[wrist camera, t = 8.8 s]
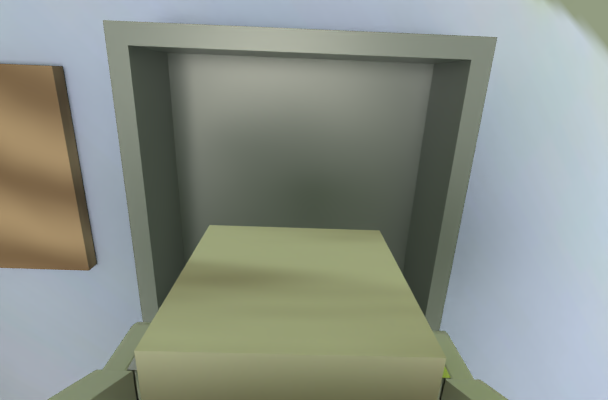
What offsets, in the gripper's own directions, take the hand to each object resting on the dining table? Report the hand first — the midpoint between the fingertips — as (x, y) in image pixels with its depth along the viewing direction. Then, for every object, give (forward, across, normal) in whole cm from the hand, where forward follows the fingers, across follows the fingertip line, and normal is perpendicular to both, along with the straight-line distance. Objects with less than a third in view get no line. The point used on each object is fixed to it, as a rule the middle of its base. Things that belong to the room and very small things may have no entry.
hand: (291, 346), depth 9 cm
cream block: (+2, 0, 0) cm, 2 cm away
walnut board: (+16, +22, 0) cm, 27 cm away
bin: (+16, 0, 0) cm, 16 cm away
